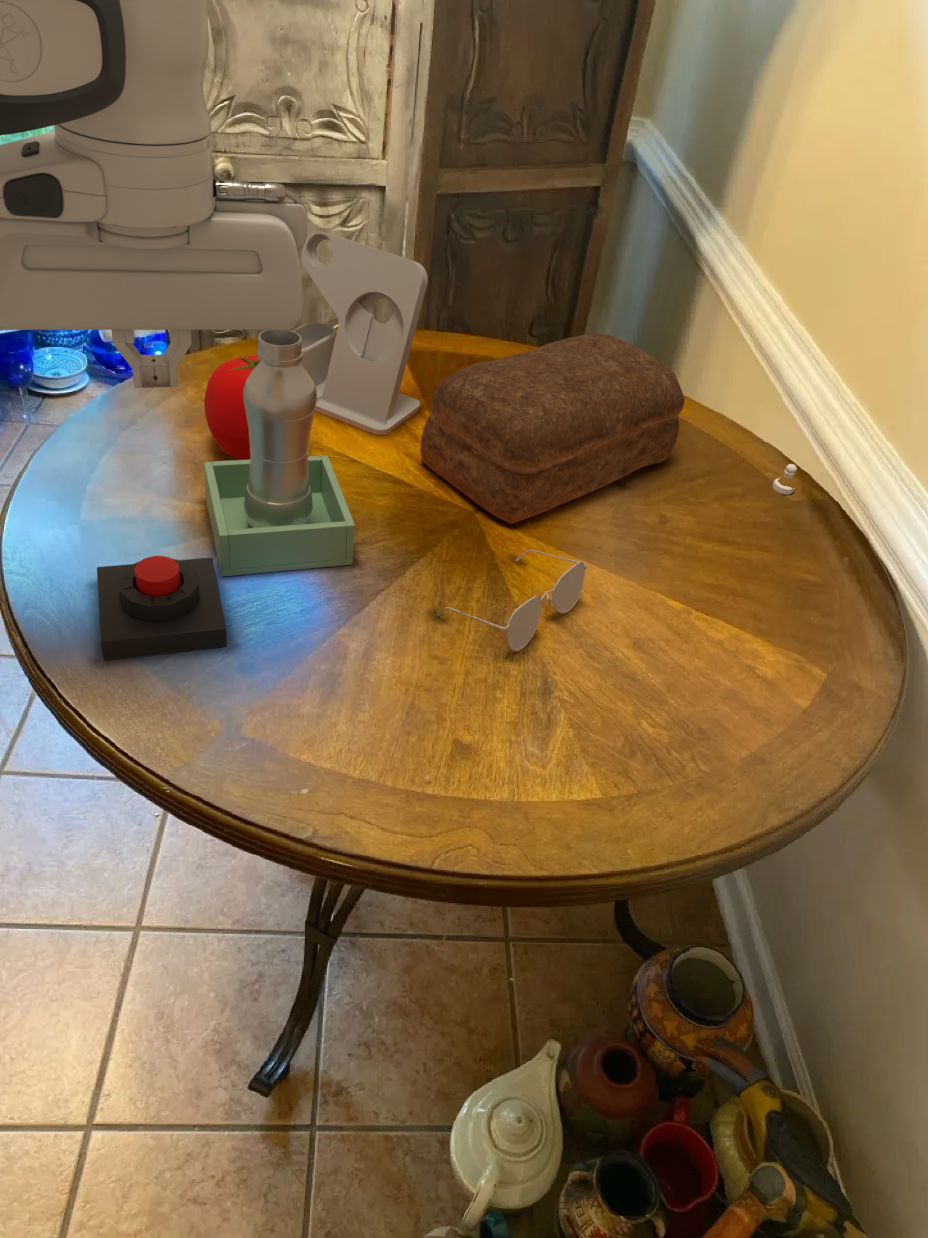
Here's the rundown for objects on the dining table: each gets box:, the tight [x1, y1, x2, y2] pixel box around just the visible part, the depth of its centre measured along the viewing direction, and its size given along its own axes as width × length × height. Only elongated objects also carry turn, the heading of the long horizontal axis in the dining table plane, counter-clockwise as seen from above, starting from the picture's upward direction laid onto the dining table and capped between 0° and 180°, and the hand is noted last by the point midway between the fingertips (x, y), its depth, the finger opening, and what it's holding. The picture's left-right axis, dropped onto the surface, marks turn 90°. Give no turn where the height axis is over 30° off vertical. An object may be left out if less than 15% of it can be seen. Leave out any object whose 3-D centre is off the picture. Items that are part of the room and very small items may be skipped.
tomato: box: [203, 354, 261, 460], centre depth 100 cm, size 10×11×11 cm
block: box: [96, 557, 228, 662], centre depth 80 cm, size 10×10×4 cm
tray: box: [203, 455, 356, 577], centre depth 91 cm, size 13×13×5 cm
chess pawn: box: [771, 463, 798, 495], centre depth 112 cm, size 3×3×4 cm
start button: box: [135, 555, 181, 597], centre depth 78 cm, size 4×4×2 cm
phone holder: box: [292, 230, 429, 436], centre depth 109 cm, size 17×10×18 cm, turn 62°
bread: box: [419, 332, 686, 525], centre depth 106 cm, size 17×30×13 cm, turn 131°
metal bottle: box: [243, 329, 317, 528], centre depth 85 cm, size 6×7×20 cm
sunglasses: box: [436, 549, 589, 652], centre depth 87 cm, size 14×8×5 cm, turn 141°
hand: (155, 383), depth 65 cm, fingers closed
